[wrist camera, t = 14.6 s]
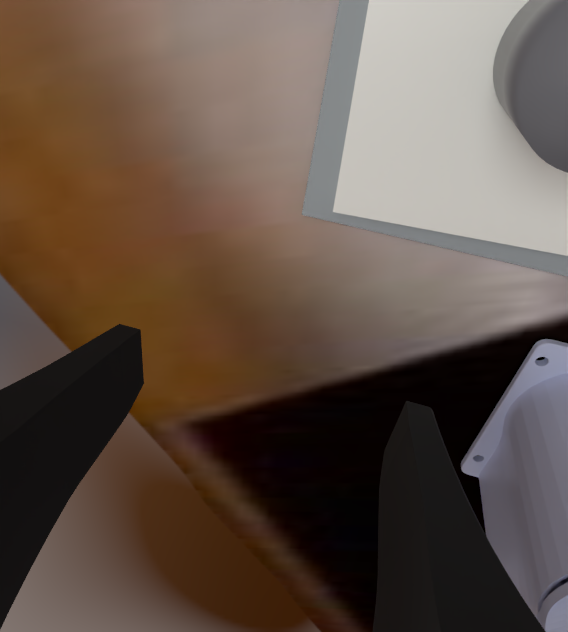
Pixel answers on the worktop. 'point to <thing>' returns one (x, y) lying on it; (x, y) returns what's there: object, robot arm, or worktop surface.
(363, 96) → the cover
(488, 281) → the worktop surface
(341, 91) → the mat
